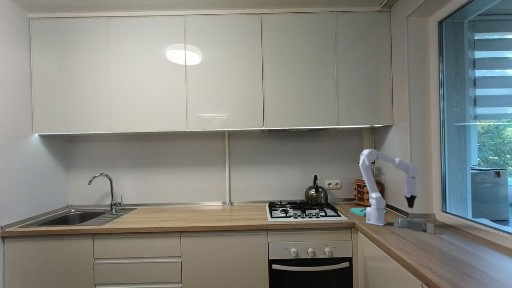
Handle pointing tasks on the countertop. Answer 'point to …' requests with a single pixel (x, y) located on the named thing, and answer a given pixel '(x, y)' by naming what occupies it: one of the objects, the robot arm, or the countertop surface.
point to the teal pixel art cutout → (360, 211)
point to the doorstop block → (416, 225)
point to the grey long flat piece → (429, 226)
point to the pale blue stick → (407, 222)
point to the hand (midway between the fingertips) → (410, 207)
